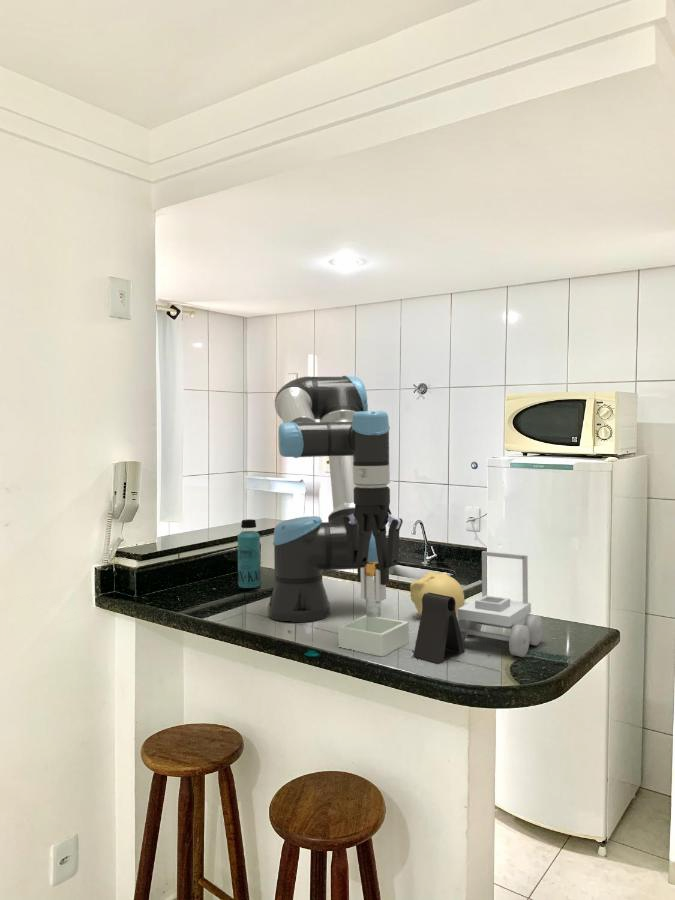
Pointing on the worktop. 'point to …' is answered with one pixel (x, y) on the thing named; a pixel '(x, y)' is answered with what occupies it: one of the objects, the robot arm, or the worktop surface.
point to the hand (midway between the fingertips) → (373, 598)
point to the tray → (374, 635)
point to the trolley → (502, 613)
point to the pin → (372, 590)
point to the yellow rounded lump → (436, 589)
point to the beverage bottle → (248, 556)
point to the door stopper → (438, 630)
